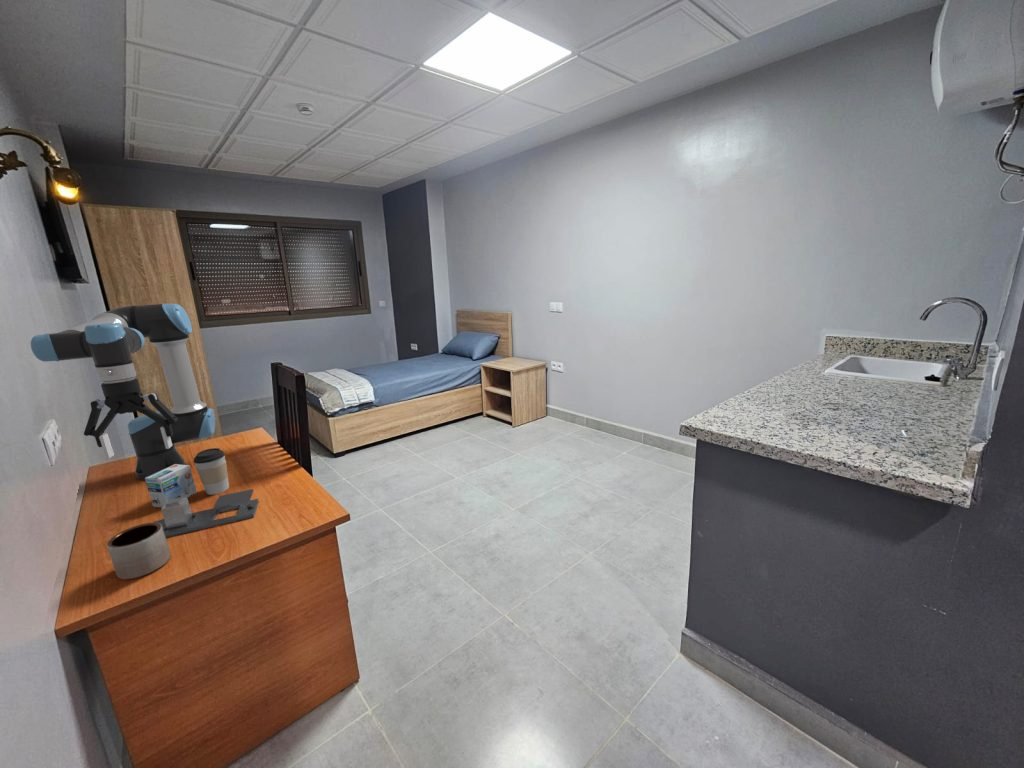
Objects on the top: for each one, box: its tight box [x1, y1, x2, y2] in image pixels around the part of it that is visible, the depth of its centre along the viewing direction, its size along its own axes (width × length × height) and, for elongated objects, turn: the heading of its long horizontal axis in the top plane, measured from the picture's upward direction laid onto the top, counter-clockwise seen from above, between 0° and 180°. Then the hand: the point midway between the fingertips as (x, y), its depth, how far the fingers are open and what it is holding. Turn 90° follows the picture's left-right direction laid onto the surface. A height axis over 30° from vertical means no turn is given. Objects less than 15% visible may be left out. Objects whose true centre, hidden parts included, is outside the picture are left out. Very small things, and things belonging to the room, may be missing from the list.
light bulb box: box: [144, 464, 198, 508], centre depth 139 cm, size 11×7×11 cm, turn 168°
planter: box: [106, 522, 172, 580], centre depth 106 cm, size 11×11×10 cm
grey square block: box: [160, 497, 193, 531], centre depth 124 cm, size 5×5×9 cm
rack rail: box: [152, 498, 260, 538], centre depth 127 cm, size 10×28×2 cm, turn 114°
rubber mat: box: [213, 488, 254, 508], centre depth 138 cm, size 10×10×1 cm
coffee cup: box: [193, 447, 230, 496], centre depth 144 cm, size 9×9×15 cm
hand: (140, 452), depth 118 cm, fingers open, 13 cm apart
